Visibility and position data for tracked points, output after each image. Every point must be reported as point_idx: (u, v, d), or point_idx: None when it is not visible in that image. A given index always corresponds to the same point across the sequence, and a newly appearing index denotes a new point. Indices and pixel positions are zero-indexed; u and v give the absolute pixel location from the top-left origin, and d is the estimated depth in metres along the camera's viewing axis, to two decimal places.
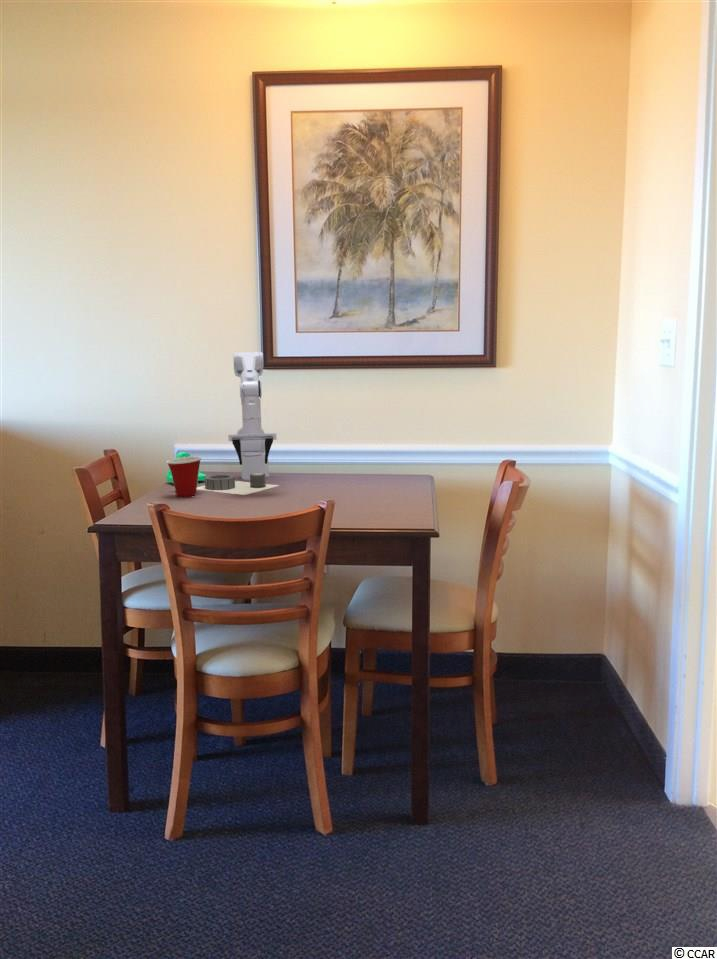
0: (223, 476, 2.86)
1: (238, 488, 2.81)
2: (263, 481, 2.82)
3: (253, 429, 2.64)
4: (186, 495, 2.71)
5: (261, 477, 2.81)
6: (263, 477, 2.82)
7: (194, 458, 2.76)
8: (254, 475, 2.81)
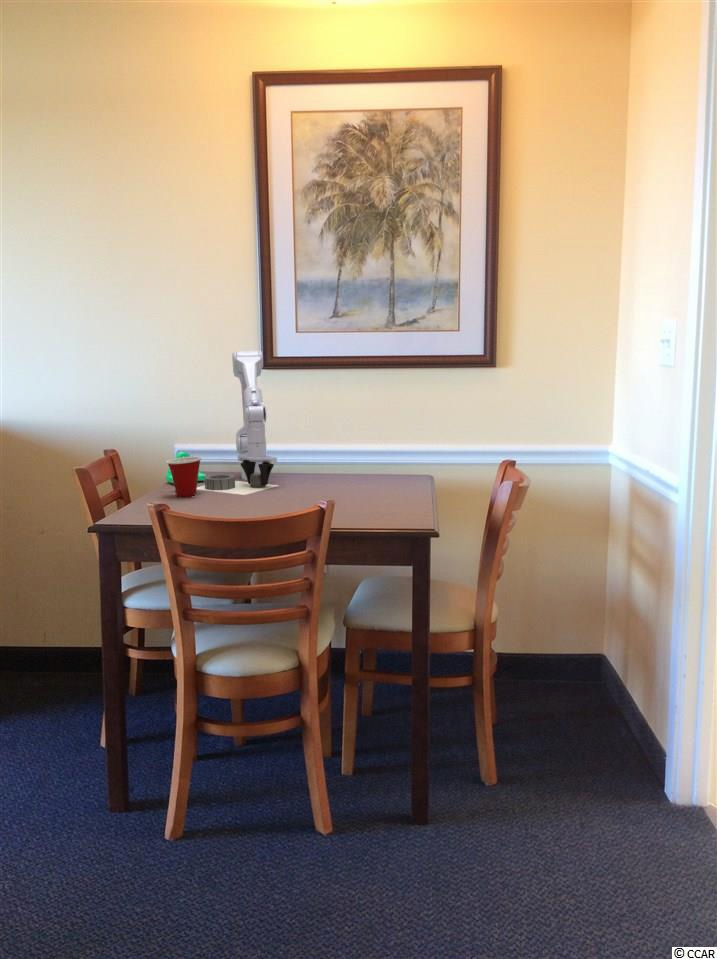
0: (223, 476, 2.86)
1: (238, 488, 2.81)
2: None
3: (252, 453, 2.79)
4: (186, 495, 2.71)
5: None
6: None
7: (194, 458, 2.76)
8: (254, 475, 2.81)
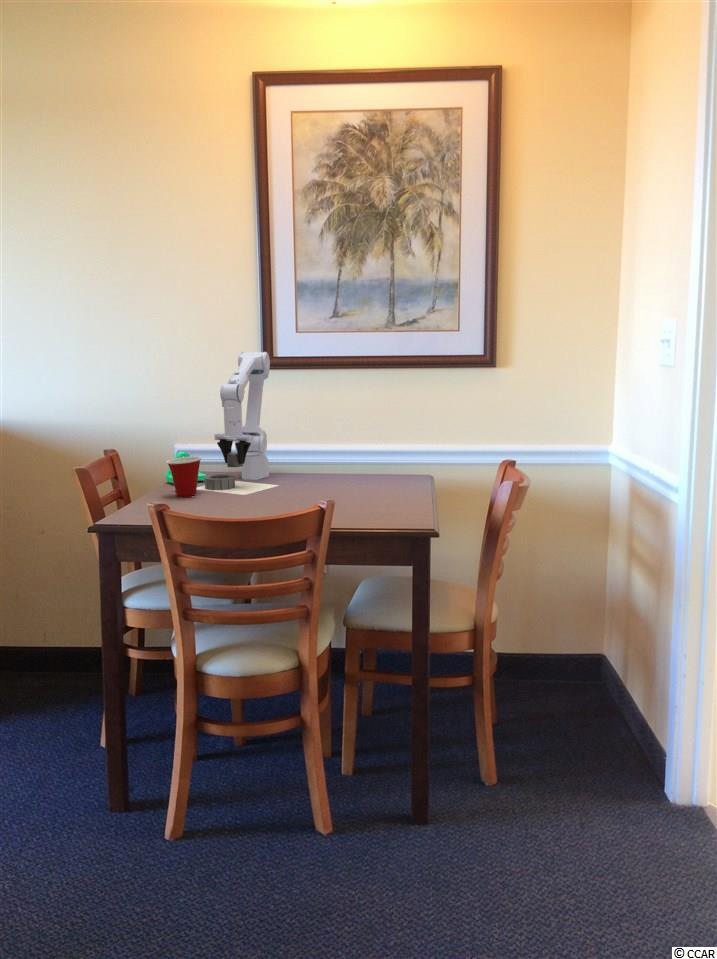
0: (223, 476, 2.86)
1: (238, 488, 2.81)
2: None
3: (228, 431, 2.77)
4: (186, 495, 2.71)
5: None
6: None
7: (194, 458, 2.76)
8: (231, 454, 2.79)
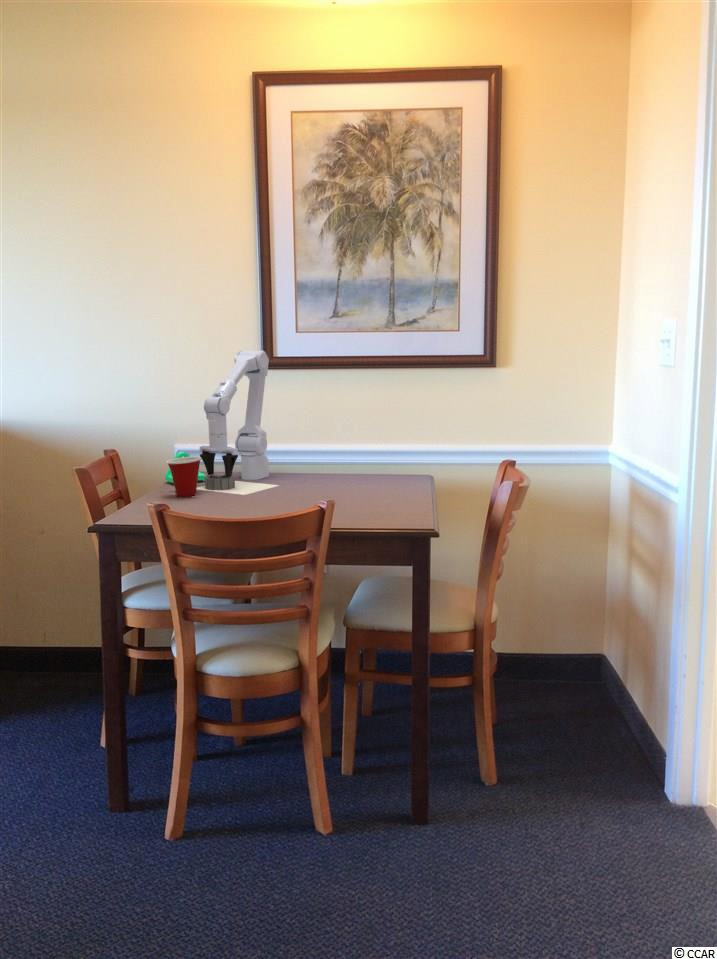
0: None
1: (238, 488, 2.81)
2: None
3: (213, 444, 2.78)
4: (186, 495, 2.71)
5: (222, 477, 2.80)
6: None
7: (194, 458, 2.76)
8: (216, 476, 2.81)
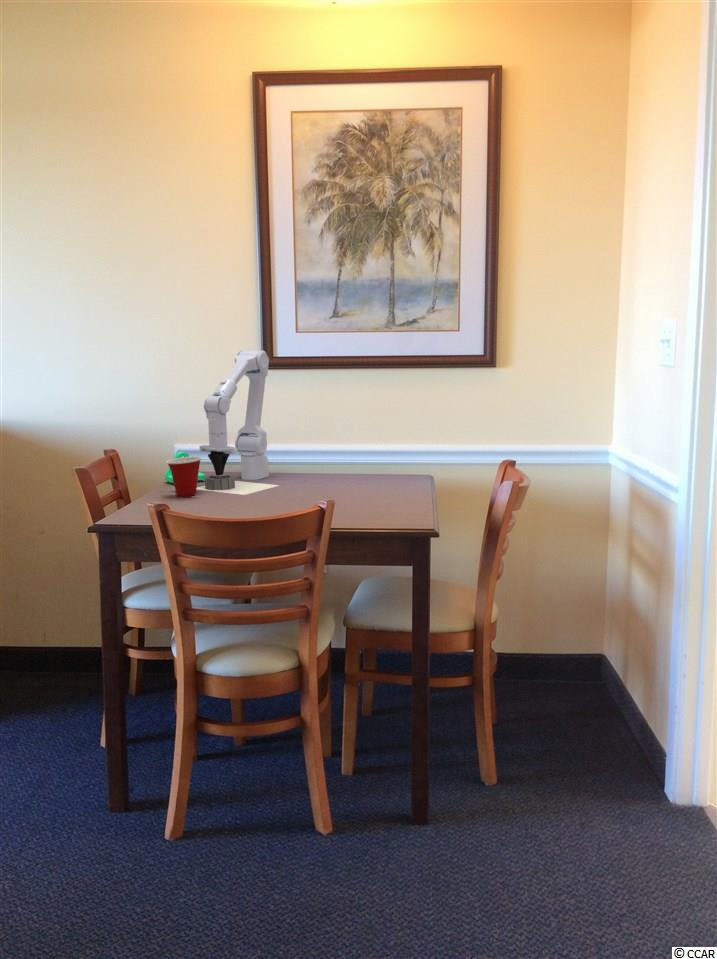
0: None
1: (238, 488, 2.81)
2: None
3: (213, 443, 2.78)
4: (186, 495, 2.71)
5: (222, 477, 2.80)
6: None
7: (194, 458, 2.76)
8: (216, 476, 2.81)
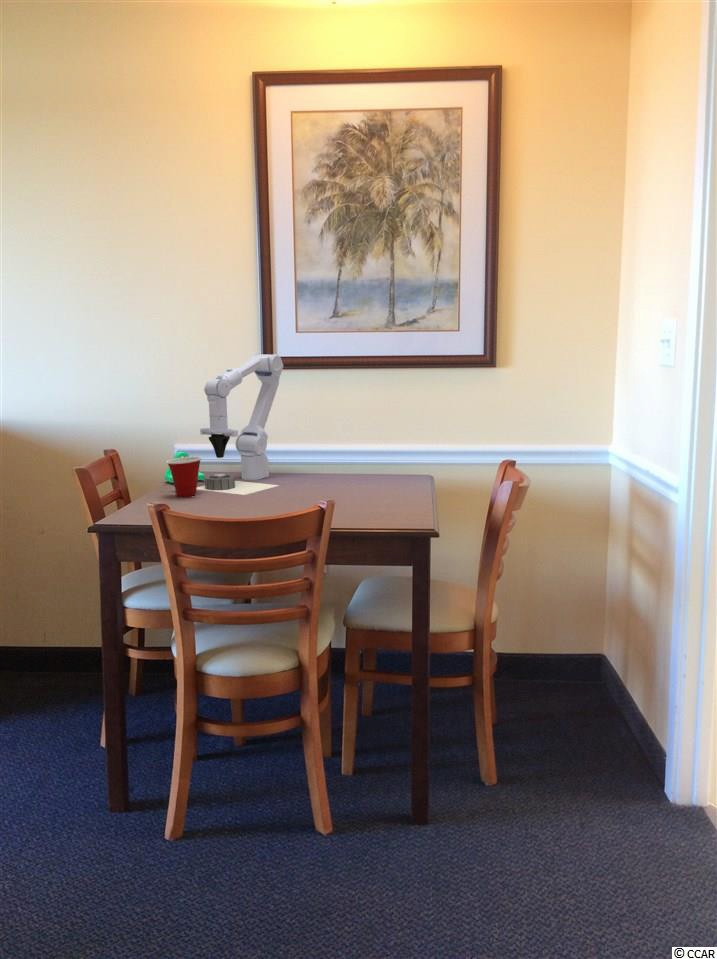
0: None
1: (238, 488, 2.81)
2: None
3: (213, 426, 2.82)
4: (186, 495, 2.71)
5: (222, 477, 2.80)
6: None
7: (194, 458, 2.76)
8: (216, 476, 2.81)
